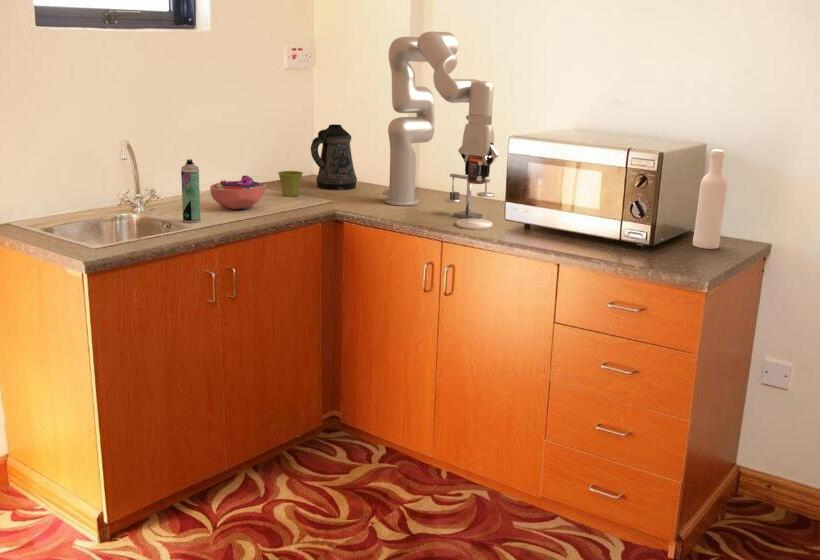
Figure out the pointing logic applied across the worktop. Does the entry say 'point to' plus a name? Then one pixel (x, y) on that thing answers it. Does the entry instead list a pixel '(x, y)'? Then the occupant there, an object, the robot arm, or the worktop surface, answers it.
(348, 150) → the beer stein
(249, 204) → the cell model
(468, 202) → the balance
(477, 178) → the supplement bottle
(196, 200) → the spray can
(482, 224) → the dish
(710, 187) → the bottle
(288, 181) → the plant pot
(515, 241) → the worktop surface
